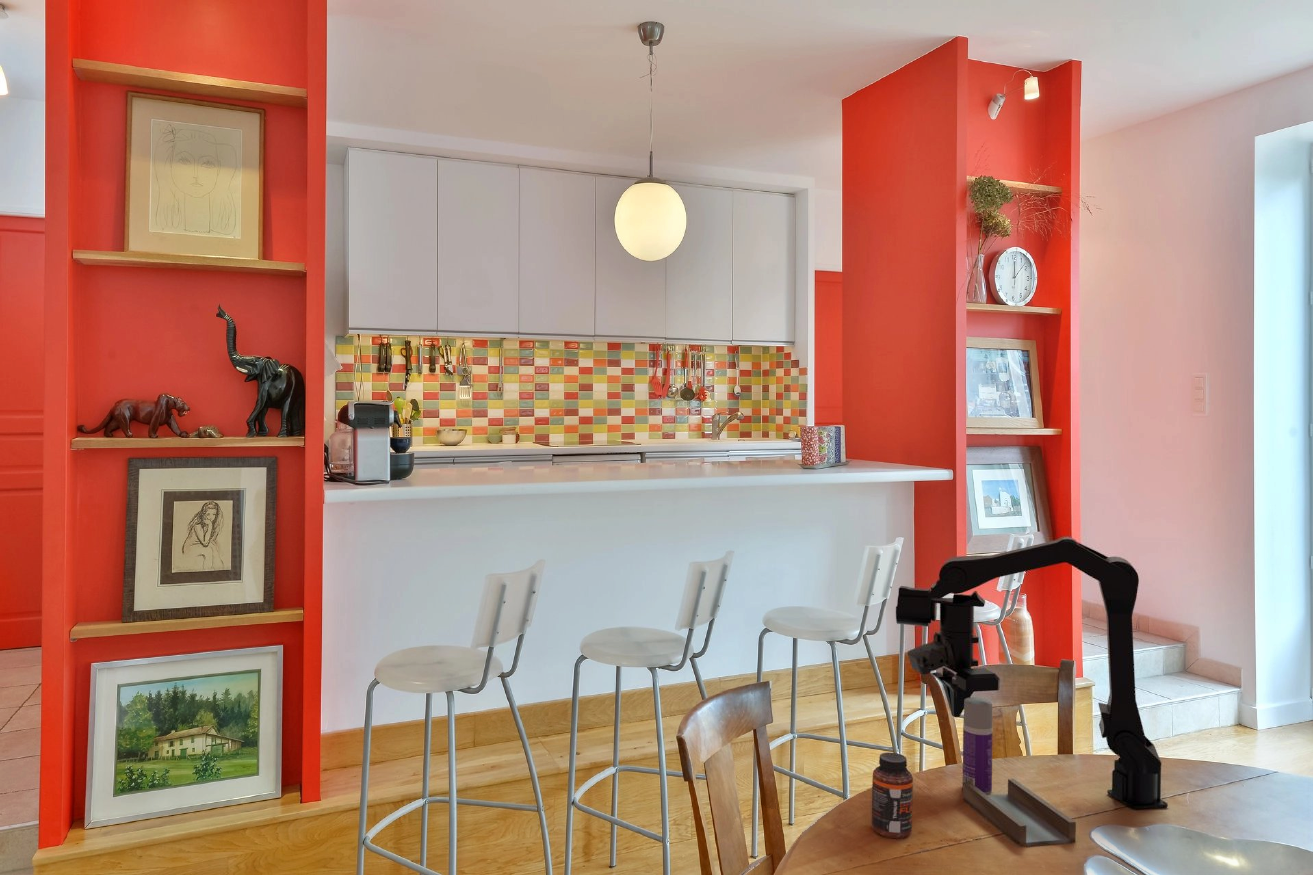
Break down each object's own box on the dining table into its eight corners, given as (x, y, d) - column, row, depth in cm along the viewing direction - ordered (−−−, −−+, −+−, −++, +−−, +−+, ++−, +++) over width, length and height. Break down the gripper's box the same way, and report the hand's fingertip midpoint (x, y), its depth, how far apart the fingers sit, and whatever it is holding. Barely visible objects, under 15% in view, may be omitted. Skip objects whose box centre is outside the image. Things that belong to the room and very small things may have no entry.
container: (994, 796, 144) (995, 706, 144) (964, 793, 145) (965, 704, 145) (989, 785, 149) (990, 698, 148) (960, 782, 150) (961, 696, 149)
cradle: (1013, 796, 144) (1013, 778, 144) (1075, 841, 128) (1075, 821, 128) (963, 799, 143) (963, 781, 143) (1020, 846, 127) (1020, 826, 127)
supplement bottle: (905, 844, 127) (906, 767, 127) (866, 833, 130) (867, 758, 130) (916, 828, 132) (917, 754, 132) (878, 818, 136) (879, 746, 135)
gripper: (891, 619, 162) (890, 702, 162) (940, 643, 143) (939, 737, 144) (946, 617, 164) (945, 699, 164) (1001, 641, 145) (1001, 733, 145)
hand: (955, 716), depth 154 cm, fingers closed
